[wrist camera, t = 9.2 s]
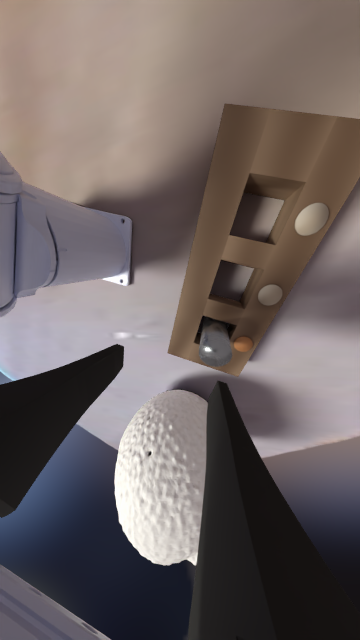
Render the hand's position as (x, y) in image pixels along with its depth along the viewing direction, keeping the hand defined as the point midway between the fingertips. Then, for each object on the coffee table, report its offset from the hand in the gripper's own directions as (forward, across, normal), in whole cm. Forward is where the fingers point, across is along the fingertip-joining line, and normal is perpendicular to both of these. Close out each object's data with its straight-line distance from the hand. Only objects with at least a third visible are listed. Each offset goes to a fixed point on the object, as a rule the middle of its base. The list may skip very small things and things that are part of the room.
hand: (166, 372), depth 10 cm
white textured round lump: (+11, -4, +18) cm, 21 cm away
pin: (+10, -3, -1) cm, 11 cm away
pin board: (+10, -3, -6) cm, 13 cm away
